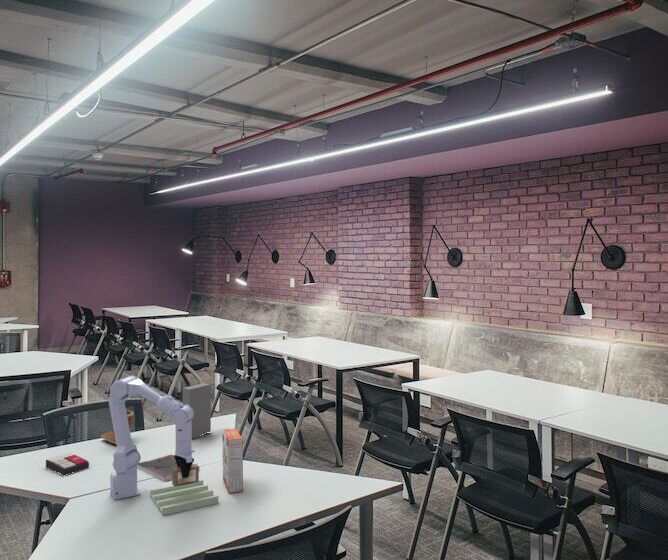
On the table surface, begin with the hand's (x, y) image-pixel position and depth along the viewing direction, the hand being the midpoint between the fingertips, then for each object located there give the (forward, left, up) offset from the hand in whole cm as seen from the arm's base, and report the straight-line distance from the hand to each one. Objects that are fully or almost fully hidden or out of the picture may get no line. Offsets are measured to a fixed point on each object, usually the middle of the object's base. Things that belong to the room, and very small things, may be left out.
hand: (183, 475), depth 213 cm
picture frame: (+3, +33, -10) cm, 35 cm away
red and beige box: (-34, +56, -10) cm, 66 cm away
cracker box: (+20, +3, -9) cm, 22 cm away
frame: (+1, 0, -3) cm, 3 cm away
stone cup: (-8, +81, -9) cm, 81 cm away
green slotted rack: (0, 0, -9) cm, 9 cm away
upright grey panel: (+27, +71, -9) cm, 76 cm away
